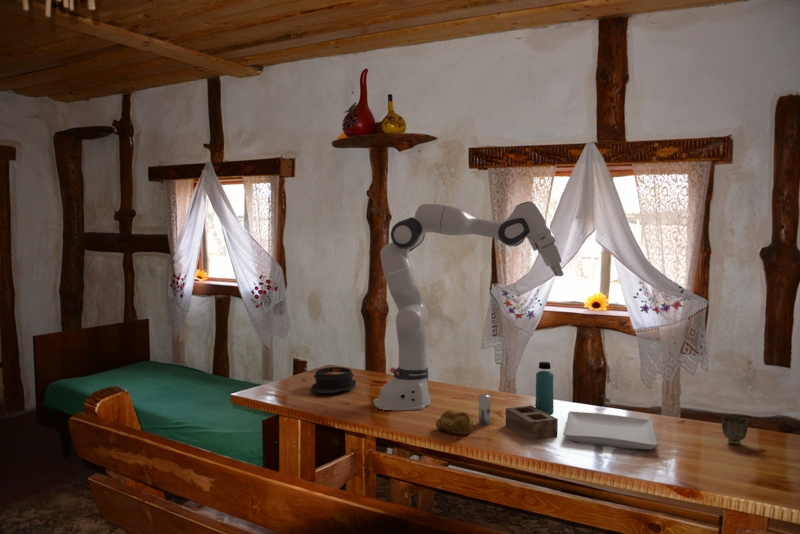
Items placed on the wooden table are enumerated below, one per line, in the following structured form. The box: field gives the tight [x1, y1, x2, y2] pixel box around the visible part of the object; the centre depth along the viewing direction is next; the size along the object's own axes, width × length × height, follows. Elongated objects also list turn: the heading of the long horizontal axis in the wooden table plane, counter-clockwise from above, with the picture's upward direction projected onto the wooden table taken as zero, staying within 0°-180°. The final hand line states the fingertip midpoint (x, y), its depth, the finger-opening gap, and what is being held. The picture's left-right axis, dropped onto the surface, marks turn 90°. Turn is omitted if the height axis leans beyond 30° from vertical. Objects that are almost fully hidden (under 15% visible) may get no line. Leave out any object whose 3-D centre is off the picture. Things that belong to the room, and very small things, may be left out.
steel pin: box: [478, 393, 492, 426], centre depth 199 cm, size 4×4×10 cm
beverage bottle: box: [534, 361, 555, 416], centre depth 207 cm, size 6×7×20 cm
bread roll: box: [435, 409, 474, 436], centre depth 191 cm, size 13×10×8 cm
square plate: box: [563, 411, 658, 450], centre depth 187 cm, size 27×27×4 cm
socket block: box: [505, 405, 559, 442], centre depth 191 cm, size 10×16×6 cm, turn 19°
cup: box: [720, 415, 749, 446], centre depth 179 cm, size 8×7×8 cm
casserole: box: [309, 366, 357, 394], centre depth 245 cm, size 25×19×8 cm
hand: (559, 275), depth 210 cm, fingers open, 8 cm apart
